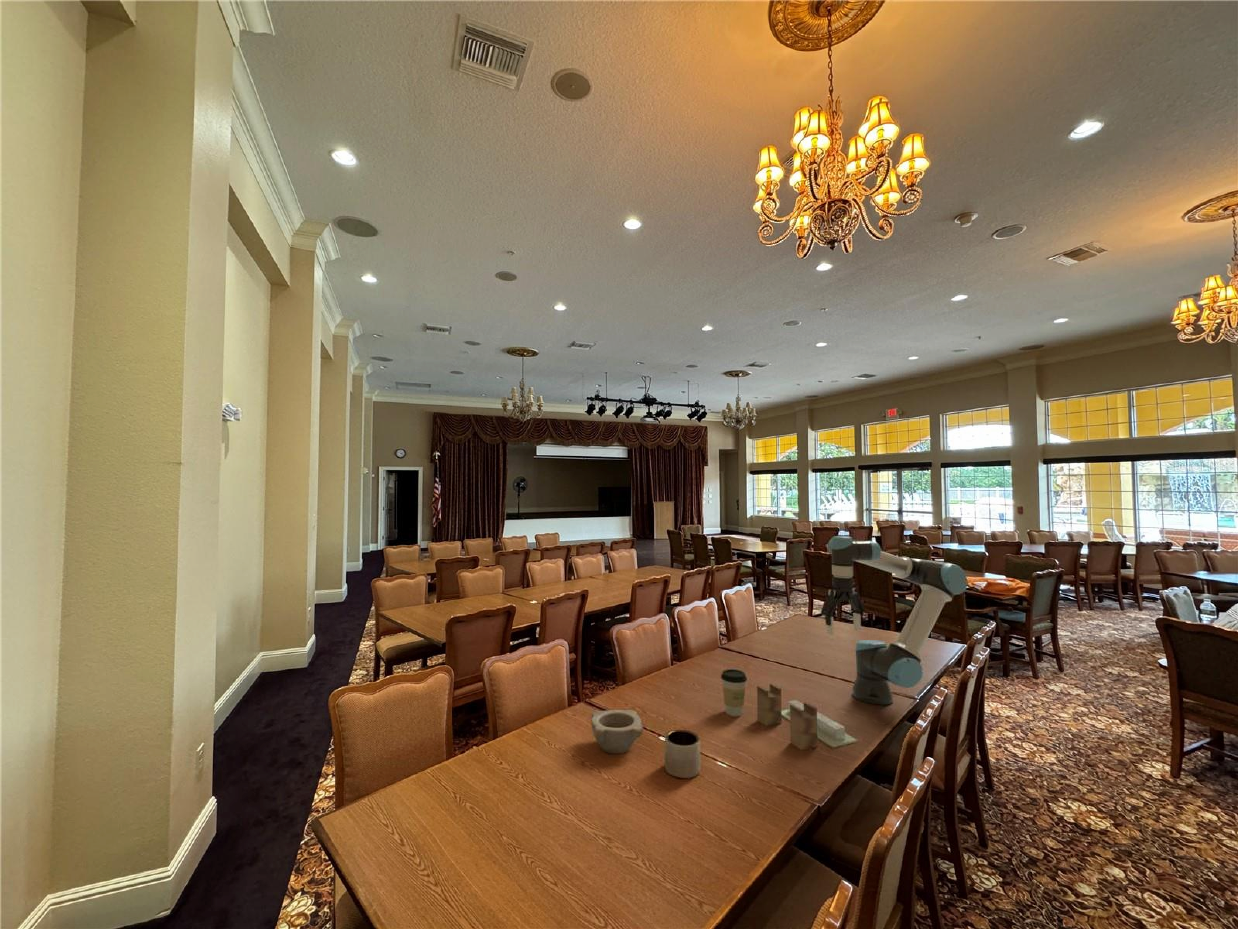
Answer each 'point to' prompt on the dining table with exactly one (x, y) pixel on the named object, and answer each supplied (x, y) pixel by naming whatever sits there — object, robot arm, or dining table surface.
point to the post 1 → (769, 705)
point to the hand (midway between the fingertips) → (843, 632)
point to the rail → (824, 723)
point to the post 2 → (803, 726)
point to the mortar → (616, 729)
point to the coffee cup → (734, 691)
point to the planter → (682, 753)
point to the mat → (824, 737)
